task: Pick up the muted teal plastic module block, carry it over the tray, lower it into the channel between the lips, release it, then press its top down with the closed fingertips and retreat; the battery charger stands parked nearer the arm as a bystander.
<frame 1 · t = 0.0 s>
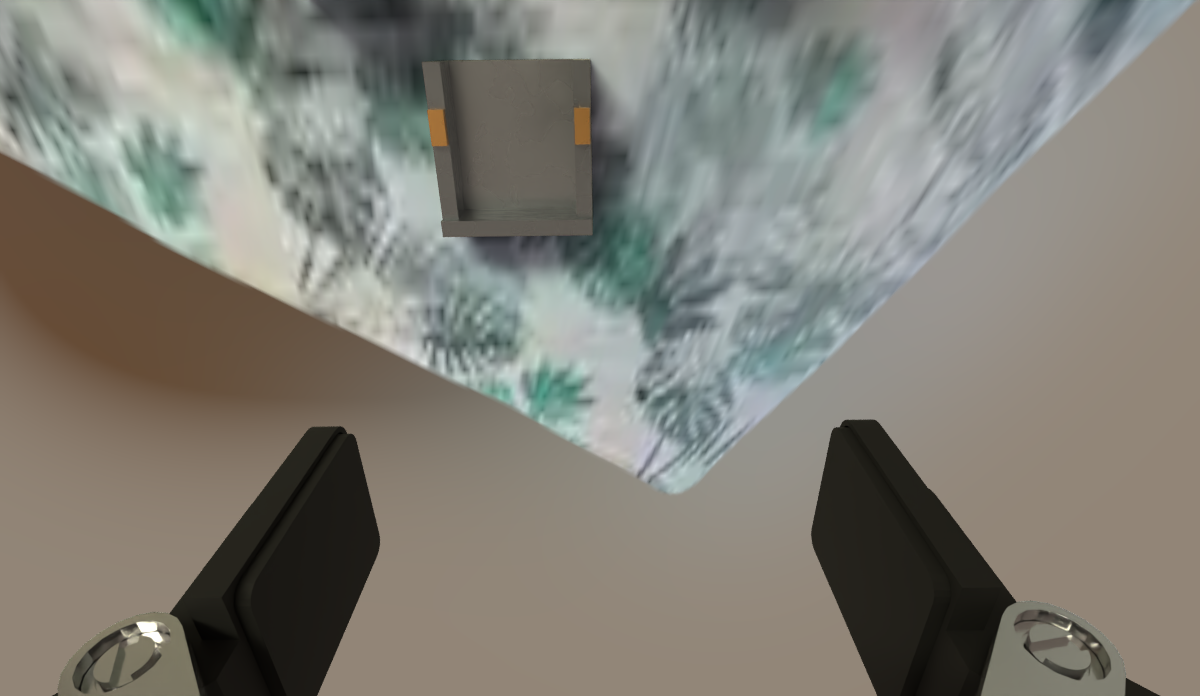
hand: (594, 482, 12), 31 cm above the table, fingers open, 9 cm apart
tray: (519, 144, 39), on the table
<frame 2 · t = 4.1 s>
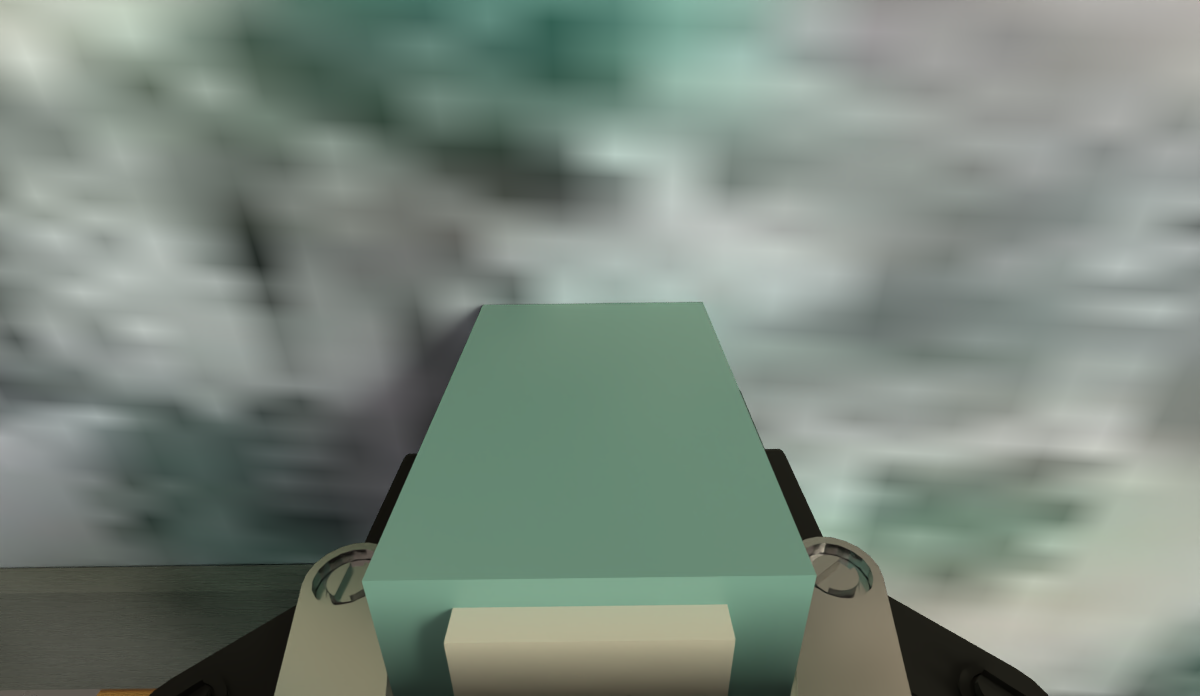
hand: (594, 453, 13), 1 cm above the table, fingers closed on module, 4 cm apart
tray: (229, 681, 18), on the table
module: (595, 425, 13), on the table, touching gripper
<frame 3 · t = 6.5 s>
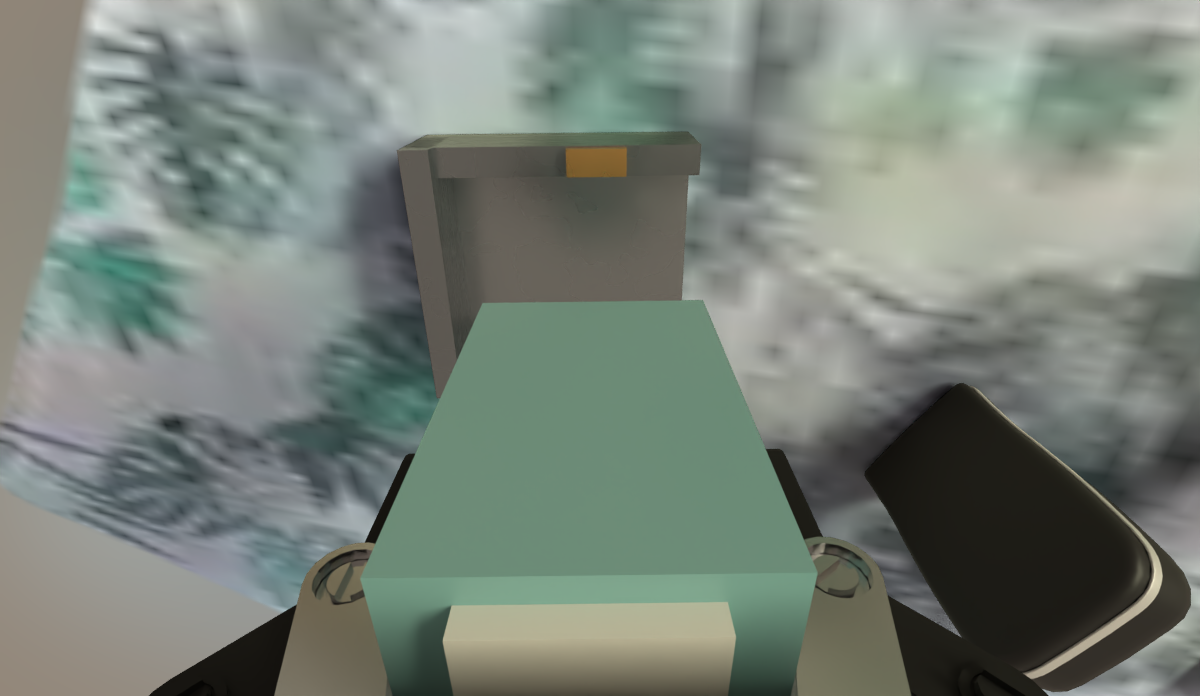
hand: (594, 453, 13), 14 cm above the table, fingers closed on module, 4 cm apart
tray: (562, 252, 25), on the table
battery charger: (930, 439, 29), on the table
module: (594, 423, 13), point 13 cm above the table, touching gripper
when the fingers open (3 cm above the table, at t = 9.0 s): module drops 1 cm, resting on tray.
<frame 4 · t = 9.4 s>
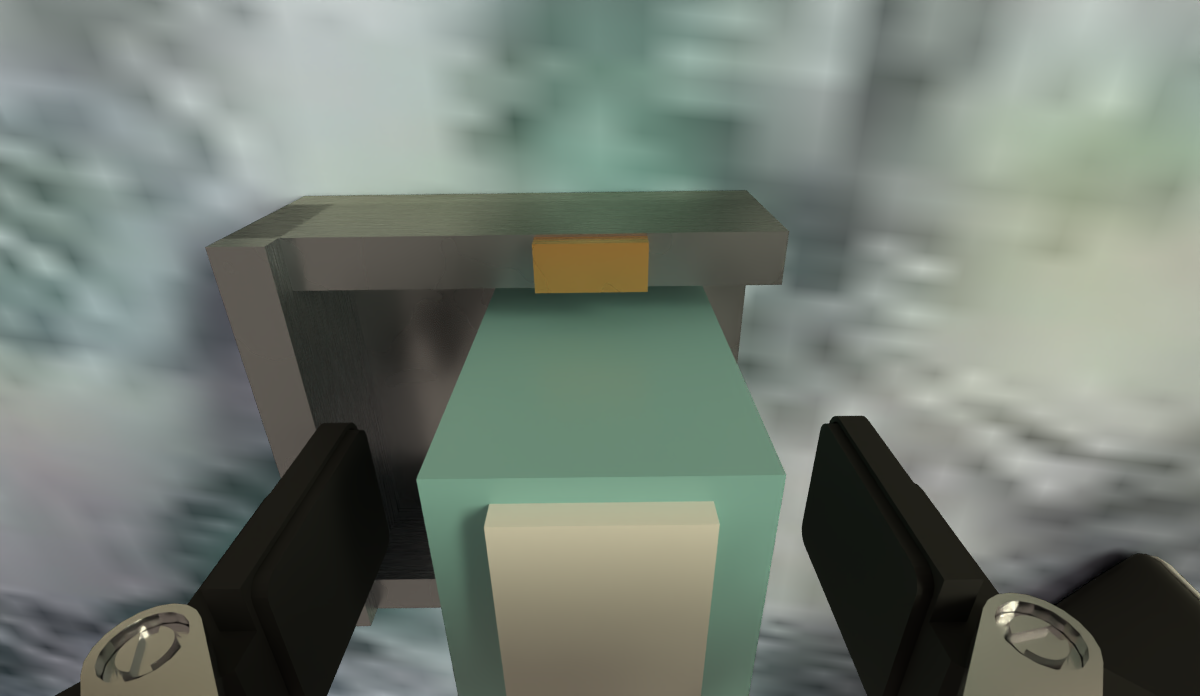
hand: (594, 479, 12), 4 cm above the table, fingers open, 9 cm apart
tray: (537, 375, 15), on the table
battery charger: (1078, 617, 20), on the table
module: (600, 389, 15), point 1 cm above the table, touching tray
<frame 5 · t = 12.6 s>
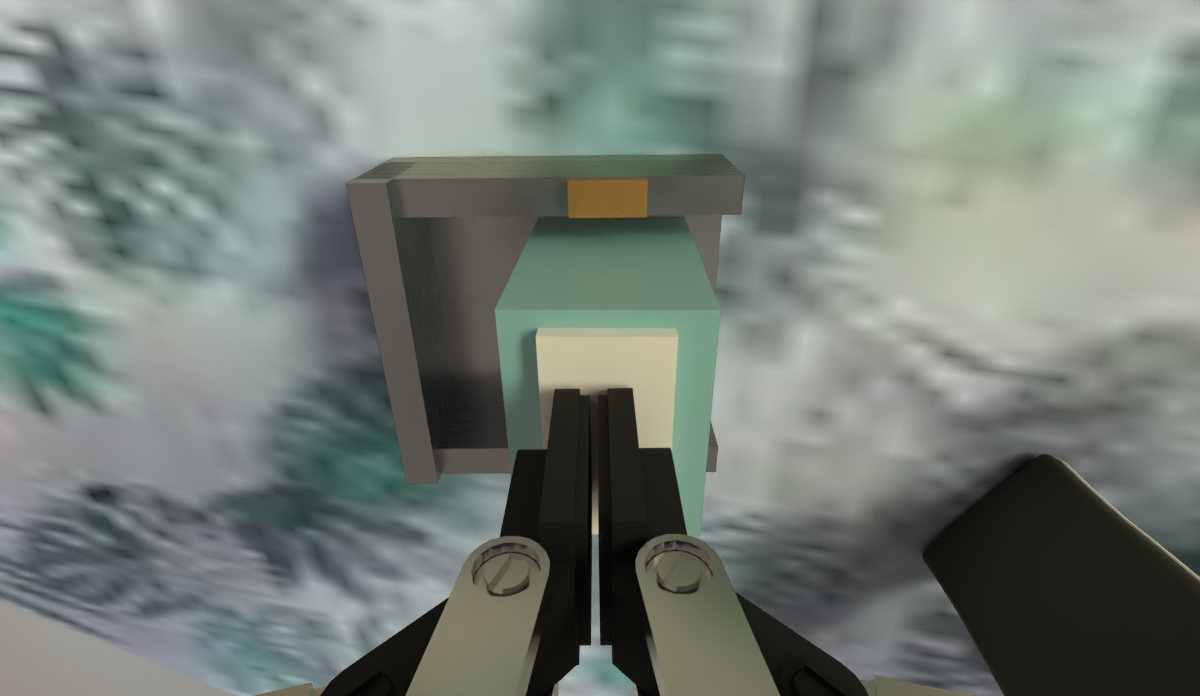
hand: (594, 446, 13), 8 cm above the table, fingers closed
tray: (563, 300, 20), on the table
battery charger: (1001, 515, 25), on the table
module: (611, 309, 19), point 1 cm above the table, touching gripper, tray
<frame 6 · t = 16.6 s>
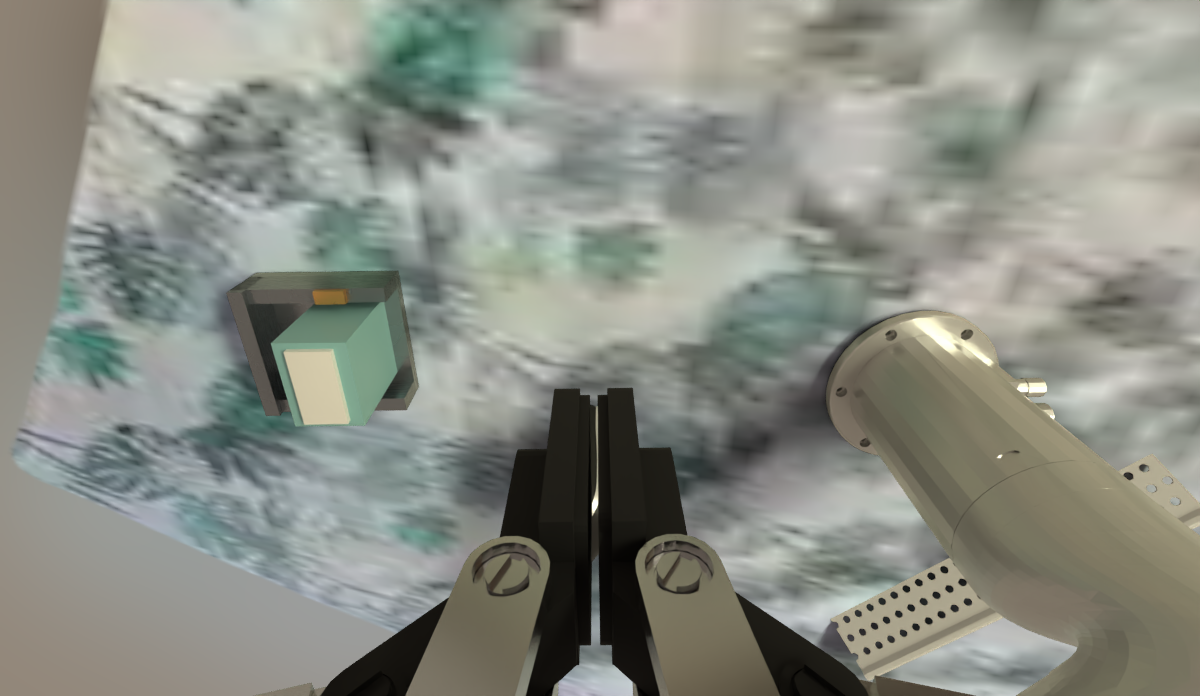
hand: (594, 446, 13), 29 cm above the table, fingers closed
tray: (341, 332, 44), on the table
corner bead: (990, 559, 56), on the table
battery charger: (587, 438, 48), on the table
module: (359, 336, 43), point 1 cm above the table, touching tray
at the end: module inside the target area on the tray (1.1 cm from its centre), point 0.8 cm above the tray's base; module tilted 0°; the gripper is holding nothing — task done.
